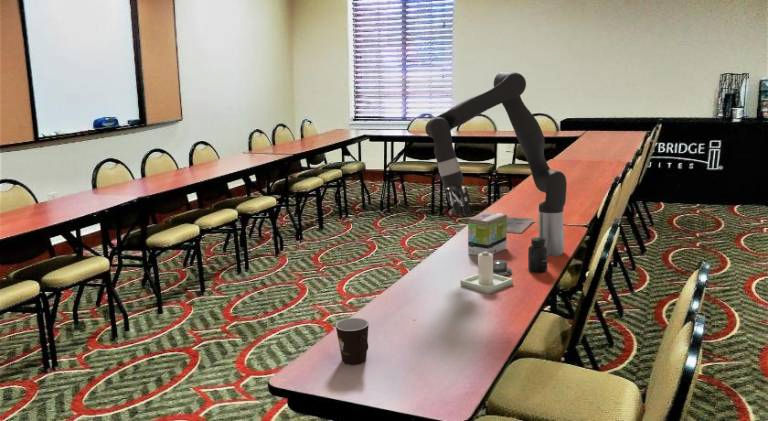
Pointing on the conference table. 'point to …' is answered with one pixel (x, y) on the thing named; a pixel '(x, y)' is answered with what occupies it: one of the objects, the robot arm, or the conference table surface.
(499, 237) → the tea box
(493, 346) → the conference table surface
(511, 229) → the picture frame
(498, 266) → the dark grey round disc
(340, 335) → the coffee mug
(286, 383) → the conference table surface
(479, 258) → the white knobbed cylinder
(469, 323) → the conference table surface
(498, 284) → the tray
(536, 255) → the supplement bottle
